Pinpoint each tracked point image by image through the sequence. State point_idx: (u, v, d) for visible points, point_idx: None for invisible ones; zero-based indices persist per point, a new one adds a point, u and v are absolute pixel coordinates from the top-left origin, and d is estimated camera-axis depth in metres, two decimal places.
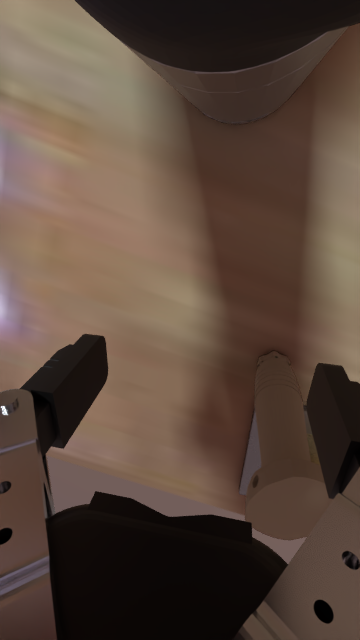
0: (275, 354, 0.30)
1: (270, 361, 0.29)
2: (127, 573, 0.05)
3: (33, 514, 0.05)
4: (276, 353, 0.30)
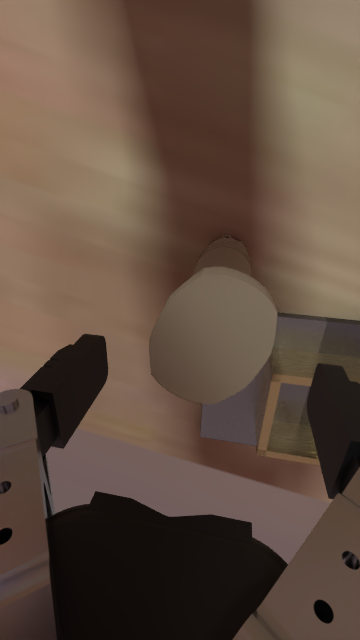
0: (226, 235, 0.25)
1: (218, 239, 0.24)
2: (127, 573, 0.05)
3: (33, 514, 0.05)
4: (228, 235, 0.25)
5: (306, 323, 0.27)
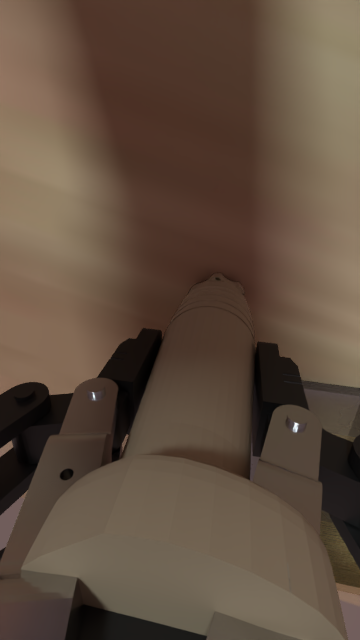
0: (216, 275, 0.17)
1: (204, 283, 0.16)
2: None
3: None
4: (219, 274, 0.17)
5: (332, 397, 0.19)
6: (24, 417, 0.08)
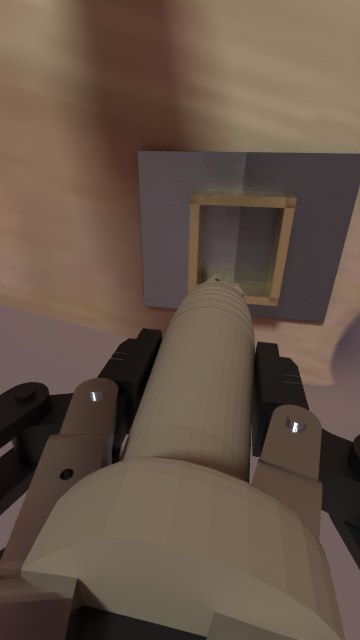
0: (216, 276, 0.17)
1: (204, 284, 0.16)
2: None
3: None
4: (219, 275, 0.17)
5: (227, 156, 0.28)
6: (24, 417, 0.08)
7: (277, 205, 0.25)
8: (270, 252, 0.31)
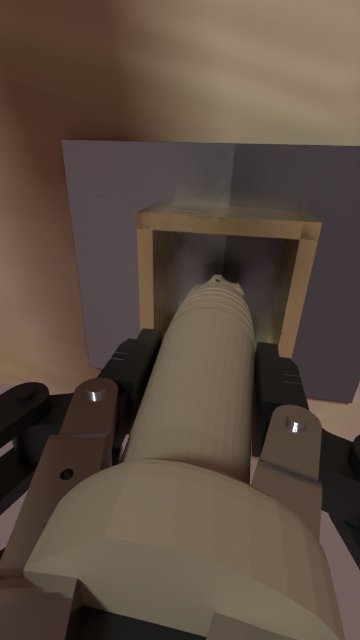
0: (216, 277, 0.17)
1: (204, 284, 0.16)
2: None
3: None
4: (219, 276, 0.17)
5: (204, 150, 0.17)
6: (24, 417, 0.08)
7: (287, 234, 0.14)
8: (272, 301, 0.20)
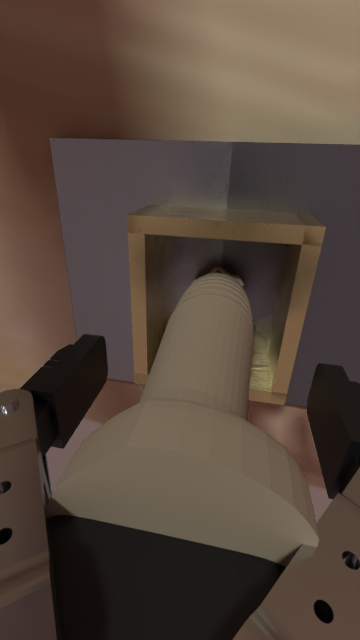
0: (217, 268, 0.18)
1: (206, 275, 0.17)
2: (127, 573, 0.05)
3: (33, 514, 0.05)
4: (220, 267, 0.18)
5: (200, 149, 0.16)
6: None
7: (288, 239, 0.13)
8: (272, 308, 0.19)
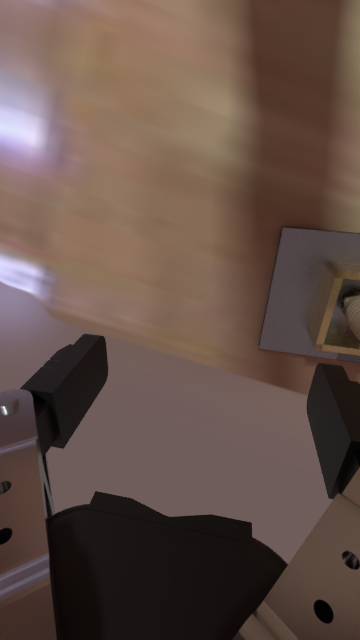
0: None
1: (359, 296, 0.35)
2: (127, 573, 0.05)
3: (33, 514, 0.05)
4: None
5: None
6: None
7: None
8: None
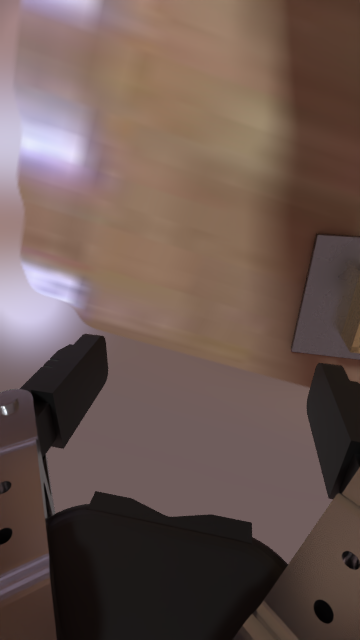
0: None
1: None
2: (127, 573, 0.05)
3: (33, 514, 0.05)
4: None
5: None
6: None
7: None
8: None
